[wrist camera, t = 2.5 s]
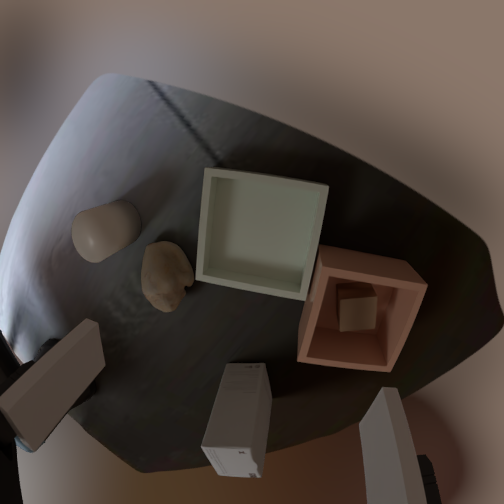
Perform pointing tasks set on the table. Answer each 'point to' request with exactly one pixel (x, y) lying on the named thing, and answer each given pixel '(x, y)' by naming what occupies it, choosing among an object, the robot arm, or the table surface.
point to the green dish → (259, 231)
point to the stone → (165, 275)
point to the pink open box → (387, 315)
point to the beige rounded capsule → (105, 230)
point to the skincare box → (239, 421)
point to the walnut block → (356, 306)
